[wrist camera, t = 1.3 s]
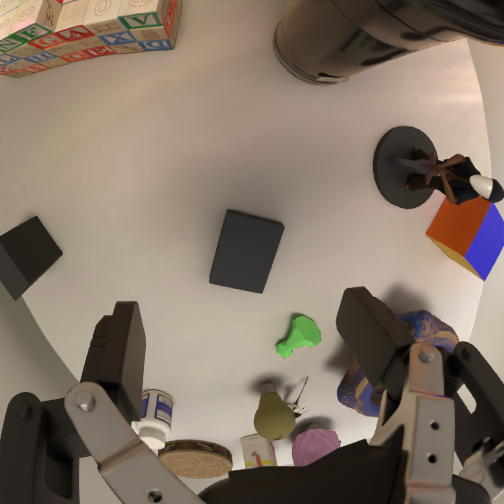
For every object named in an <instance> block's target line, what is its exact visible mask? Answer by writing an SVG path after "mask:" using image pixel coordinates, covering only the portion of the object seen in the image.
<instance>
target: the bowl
mask: <svg viewBox="0 0 504 504" xmlns="http://www.w3.org/2000/svg"><path fill="white" fill-rule="evenodd" d="M397 320H399V321H400V322H401V323H402V324H403V326H404V327H405V328H406V329H407V330H408V332H409V333H410V334H411V335H412V336H413V338H414V339H415V340H416V341H417V342H427V343H430V344H432V345H433V346H435V347H436V348H437V349H438V350H439V352H452V350H453V349H454V347H455V345H456V344H457V343H458V342H459V338H458V336H457V334H456V333H455V331H454V330H453V328H452V327H450V326H449V325H447V324H446V323H444V322H442V321H441V320H440V319H439V318H437V317H435V316H433V315H432V314H431V313H430V312H428V311H427V310H418V311H412V312H408V313H405V314H401V315H399V316H397ZM384 391H385V387H384V386H381V387H378V388H375V389H373V388H372V387H371V385H370V383H369V382H368V380H367V378H366V377H365V375H364V373H363V372H362V370H361V368H360V367H359V365H358V363H357V362H356V360H355V358H354V359H353V361H352V364H351V366H350V368H349V369H348V371H347V372H346V374H345V376H344V377H343V379H342V381H341V383H340V385H339V386H338V389H337V398H338V400H339V402H340V403H342V404H343V405H345V406H347V407H350V408H352V409H355V410H356V411H357V412H358V413H360V414H363V415H365V416H371V417H379V412H380V406H381V401H382V395H383V392H384Z"/></svg>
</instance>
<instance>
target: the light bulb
mask: <svg viewBox="0 0 504 504" xmlns="http://www.w3.org/2000/svg"><path fill="white" fill-rule="evenodd" d="M260 395H261V397H260V402H259V407H258V409H257V411H256V414H255V417H254V426H255V429H256V431H257V432H258V434H259V435H261V436H262V437H263V438H265V439H268V440H273V441H274V440H281V439H284V438H286V437H287V436H288V435H289V434H290V433H291V432H292V431H293V429H294V426H295V416H294V413H293V411H292V410H291V408H290V407H289V406H288V405H286V404H285V403H284V402H283V401H282V399H281V397H280V396H279V395H278V394H277V391H276V387H275V385H274V384H272V383H265V384H263V385H262V386H261V387H260Z"/></svg>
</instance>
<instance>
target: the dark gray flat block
mask: <svg viewBox="0 0 504 504" xmlns="http://www.w3.org/2000/svg"><path fill="white" fill-rule="evenodd" d="M284 228H285V227H284V225H283V224H282V223H280V222H276V221H273V220H269V219H265V218H261V217H257V216H253V215H249V214H245V213H241V212H237V211H233V210H229V209H227V211H226V215H225V219H224V223H223V226H222V230H221V234H220V238H219V242H218V246H217V250H216V254H215V258H214V262H213V266H212V270H211V274H210V280H209V283H211V284H215V285H220V286H225V287H230V288H235V289H240V290H245V291H250V292H255V293H261V294H262V293H263V290H264V287H265V284H266V281H267V279H268V276H269V273H270V270H271V267H272V264H273V261H274V258H275V255H276V252H277V249H278V246H279V243H280V240H281V237H282V234H283V231H284Z"/></svg>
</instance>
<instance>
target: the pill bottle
mask: <svg viewBox="0 0 504 504" xmlns="http://www.w3.org/2000/svg"><path fill="white" fill-rule="evenodd" d="M172 408H173V401H172V399H171V398H170V396H168V395H167V394H165V393H163V392H160V391H156V390H149V391H146V392H144V393H143V394H142V402H141V422H136V428H137V429H138V431H139V435H138V436H139V438H140V439H141V440H142V441H144V442H145V443H146V444H147V445H148V446H149V447H150V449H162V448H164V447H165V441H166V439H165V437H167V436H168V435H169V434H170V430H171V420H172Z"/></svg>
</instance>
